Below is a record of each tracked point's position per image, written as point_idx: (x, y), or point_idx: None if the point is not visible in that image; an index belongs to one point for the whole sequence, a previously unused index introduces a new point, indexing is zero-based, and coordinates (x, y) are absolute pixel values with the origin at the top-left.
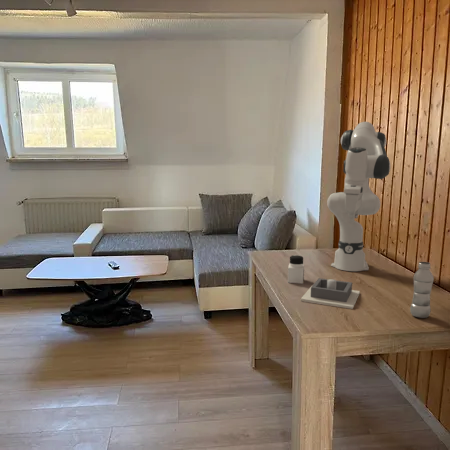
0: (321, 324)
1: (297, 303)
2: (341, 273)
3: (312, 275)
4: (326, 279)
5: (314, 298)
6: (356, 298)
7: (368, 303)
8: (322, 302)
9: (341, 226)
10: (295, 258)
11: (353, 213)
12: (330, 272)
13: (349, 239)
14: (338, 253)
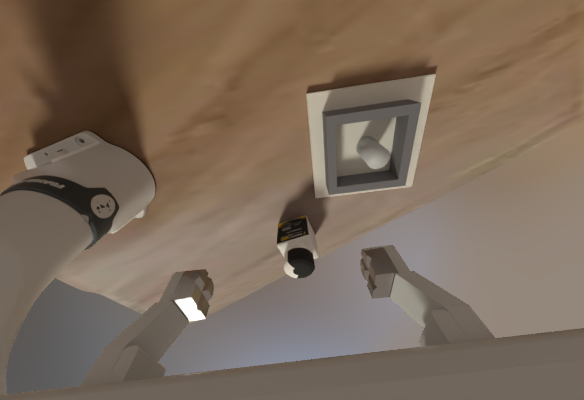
0: (536, 107)
1: (424, 184)
2: (179, 179)
3: (241, 219)
4: (331, 178)
5: None
6: (370, 84)
7: (376, 46)
8: (419, 146)
9: (43, 289)
10: (313, 266)
11: (477, 322)
12: (192, 200)
13: (73, 227)
14: (121, 221)
